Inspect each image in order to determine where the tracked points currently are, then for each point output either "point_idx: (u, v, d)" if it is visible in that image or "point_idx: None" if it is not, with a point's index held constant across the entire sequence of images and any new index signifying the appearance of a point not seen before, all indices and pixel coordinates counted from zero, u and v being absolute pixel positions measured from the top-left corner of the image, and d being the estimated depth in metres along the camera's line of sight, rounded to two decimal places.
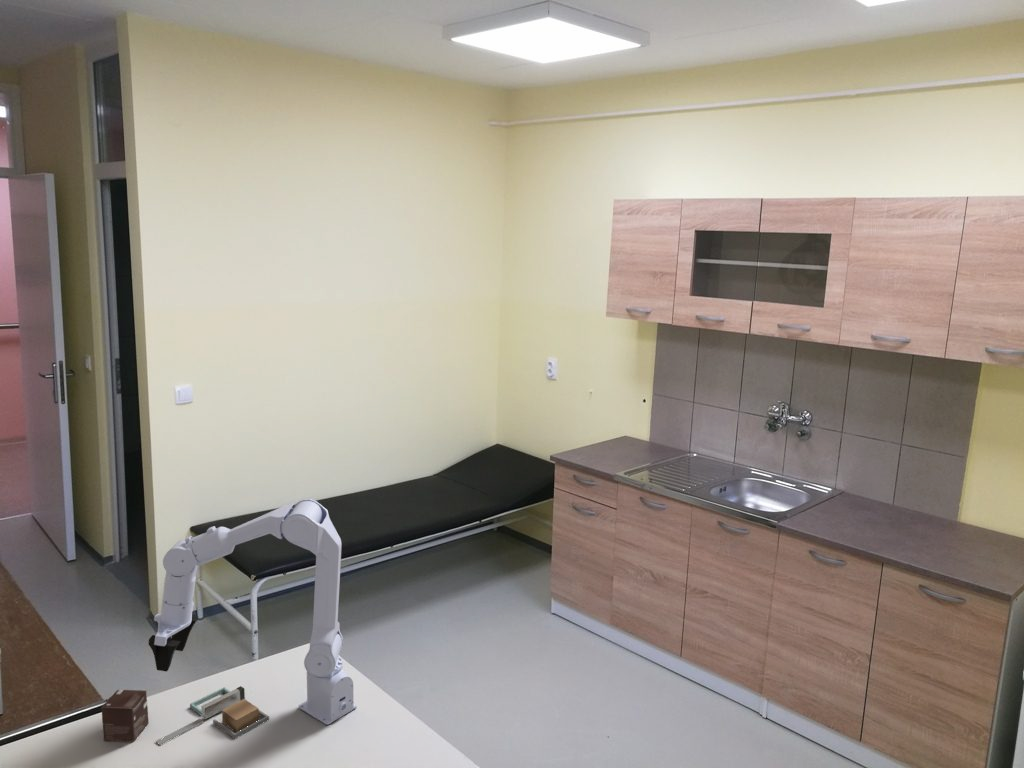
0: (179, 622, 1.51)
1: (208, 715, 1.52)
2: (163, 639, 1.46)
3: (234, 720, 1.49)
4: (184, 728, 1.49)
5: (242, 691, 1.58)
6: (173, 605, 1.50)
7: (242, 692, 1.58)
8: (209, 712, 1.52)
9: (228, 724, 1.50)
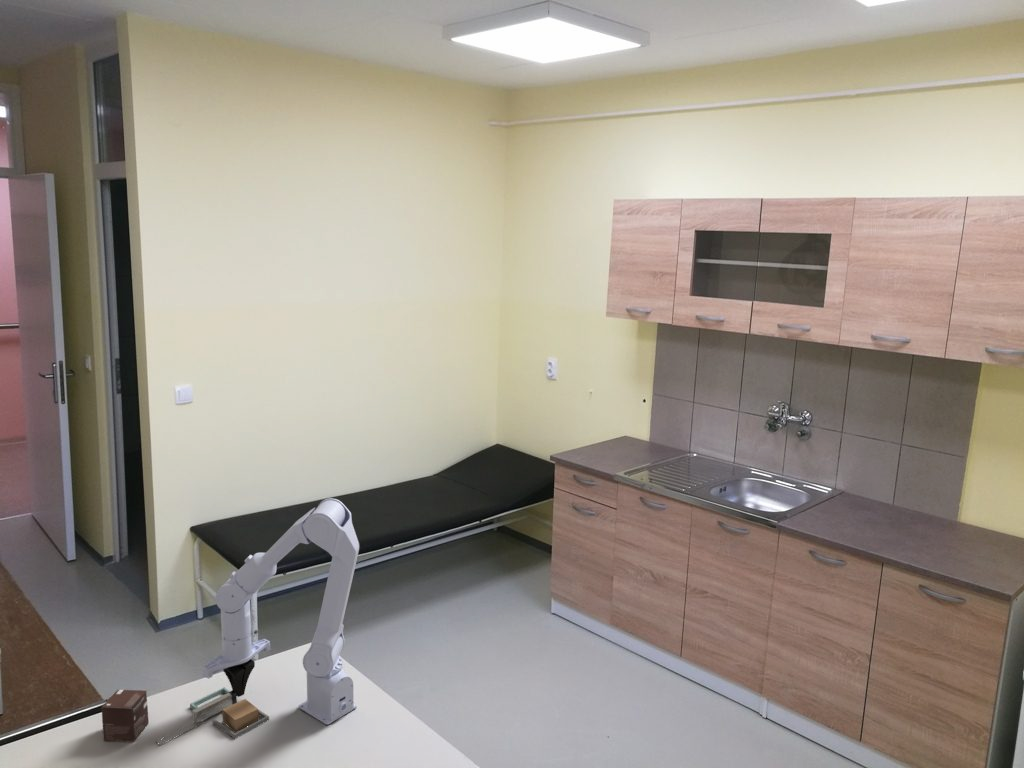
0: (231, 657, 1.54)
1: (199, 720, 1.51)
2: (206, 671, 1.51)
3: (233, 720, 1.49)
4: (184, 728, 1.49)
5: (234, 695, 1.57)
6: (224, 639, 1.53)
7: (234, 696, 1.57)
8: (200, 716, 1.51)
9: (228, 724, 1.50)
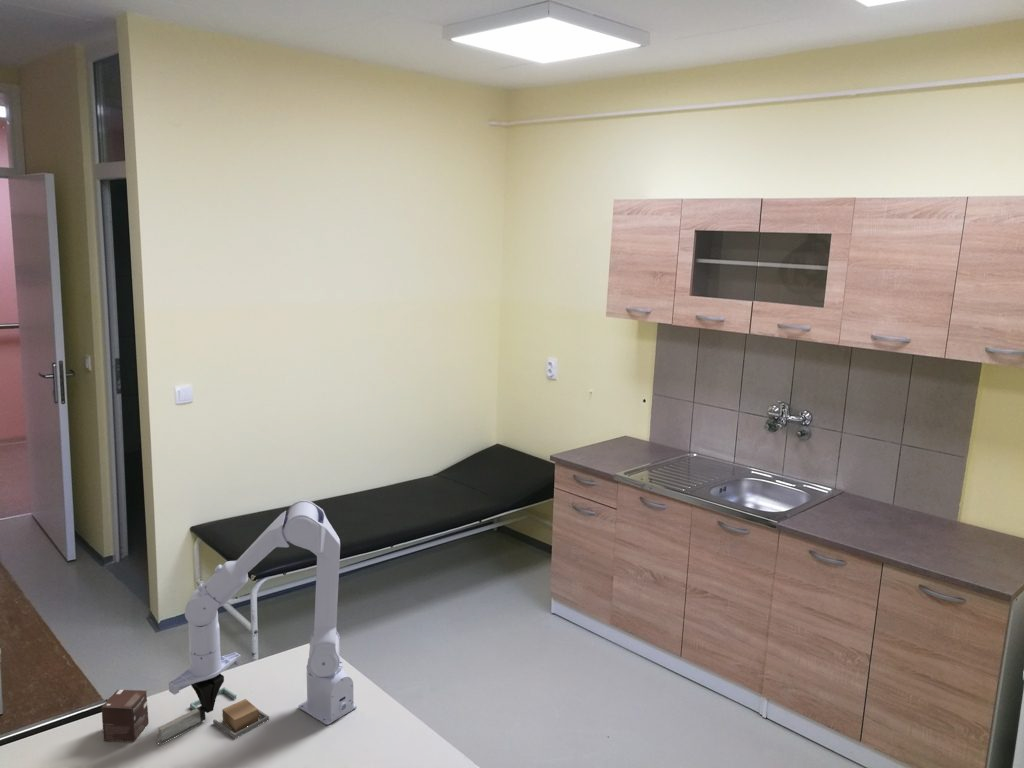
0: (199, 672, 1.48)
1: (165, 737, 1.45)
2: (173, 687, 1.45)
3: (233, 720, 1.49)
4: None
5: (202, 711, 1.51)
6: (192, 654, 1.48)
7: (202, 712, 1.51)
8: (166, 734, 1.45)
9: (228, 723, 1.51)
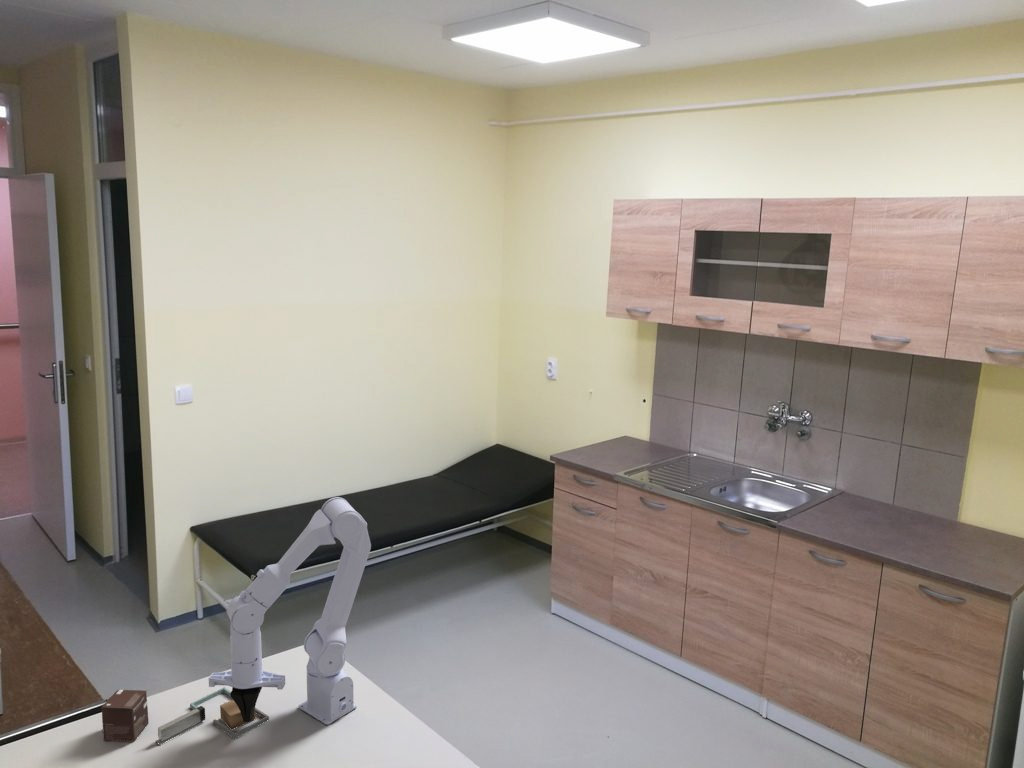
0: (232, 677, 1.47)
1: (165, 737, 1.45)
2: None
3: (229, 716, 1.50)
4: None
5: (202, 711, 1.51)
6: None
7: (202, 712, 1.51)
8: (166, 734, 1.45)
9: (225, 720, 1.51)
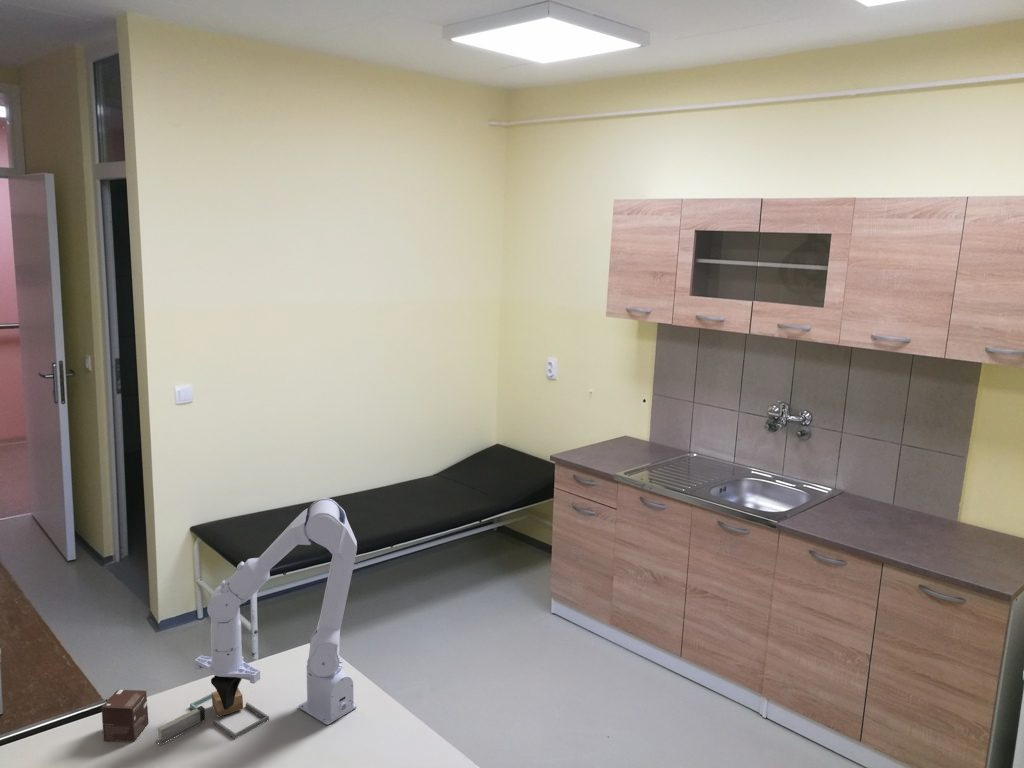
0: None
1: (165, 737, 1.45)
2: None
3: (216, 702, 1.53)
4: None
5: (202, 711, 1.51)
6: None
7: (202, 712, 1.51)
8: (166, 734, 1.45)
9: (214, 707, 1.55)
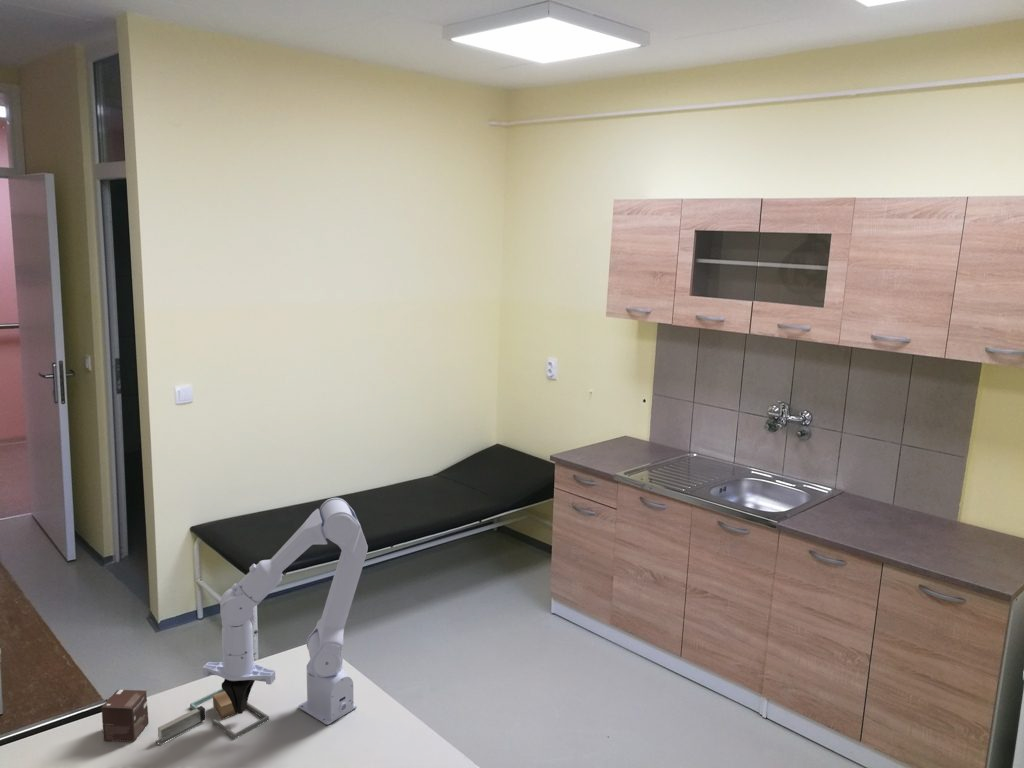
0: (223, 668, 1.49)
1: (165, 737, 1.45)
2: None
3: (220, 706, 1.53)
4: None
5: (202, 711, 1.51)
6: None
7: (202, 712, 1.51)
8: (166, 734, 1.45)
9: (216, 709, 1.55)
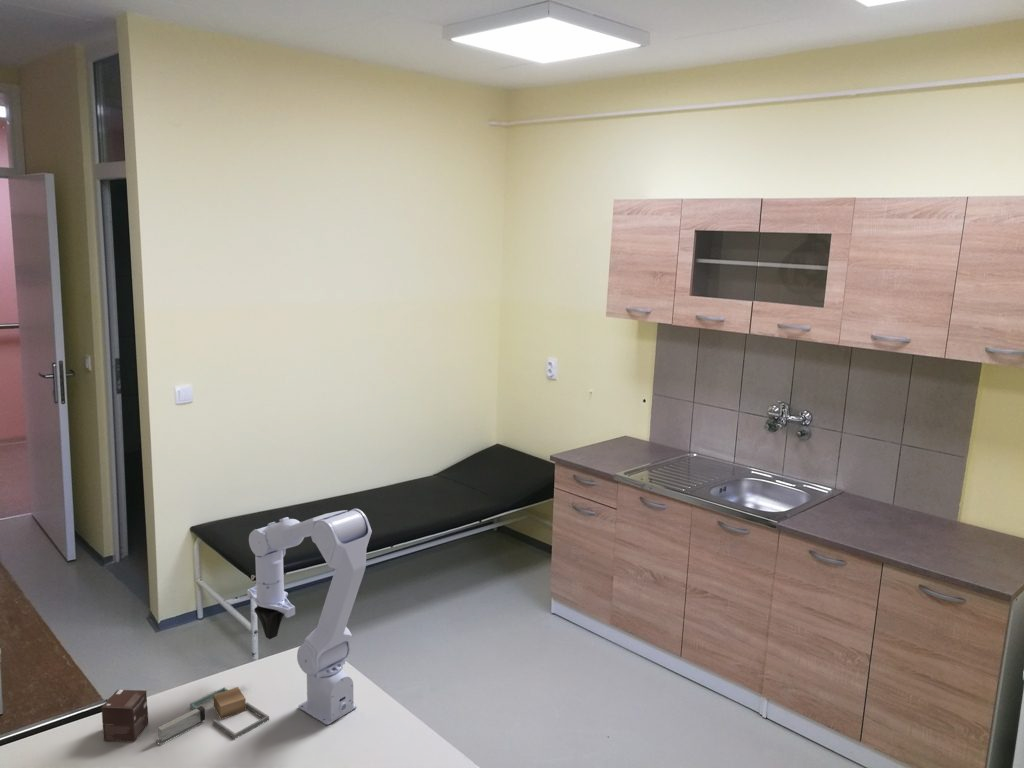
0: None
1: (165, 737, 1.45)
2: None
3: (219, 706, 1.53)
4: None
5: (202, 711, 1.51)
6: None
7: (202, 712, 1.51)
8: (166, 734, 1.45)
9: (216, 709, 1.55)
